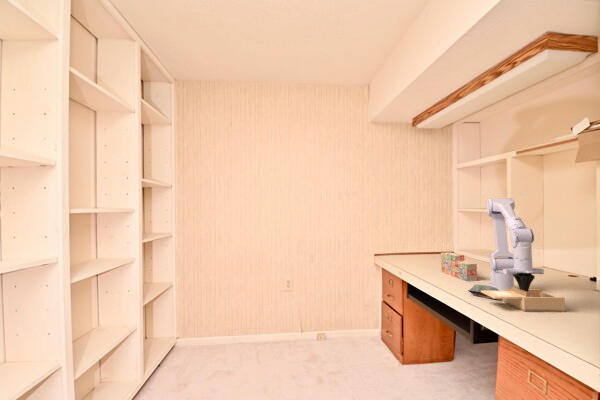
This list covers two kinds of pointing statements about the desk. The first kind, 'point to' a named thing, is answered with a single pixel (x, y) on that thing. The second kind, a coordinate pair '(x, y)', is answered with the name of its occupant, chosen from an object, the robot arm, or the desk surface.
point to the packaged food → (478, 288)
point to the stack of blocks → (458, 266)
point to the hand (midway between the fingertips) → (524, 292)
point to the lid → (507, 293)
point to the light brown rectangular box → (538, 302)
